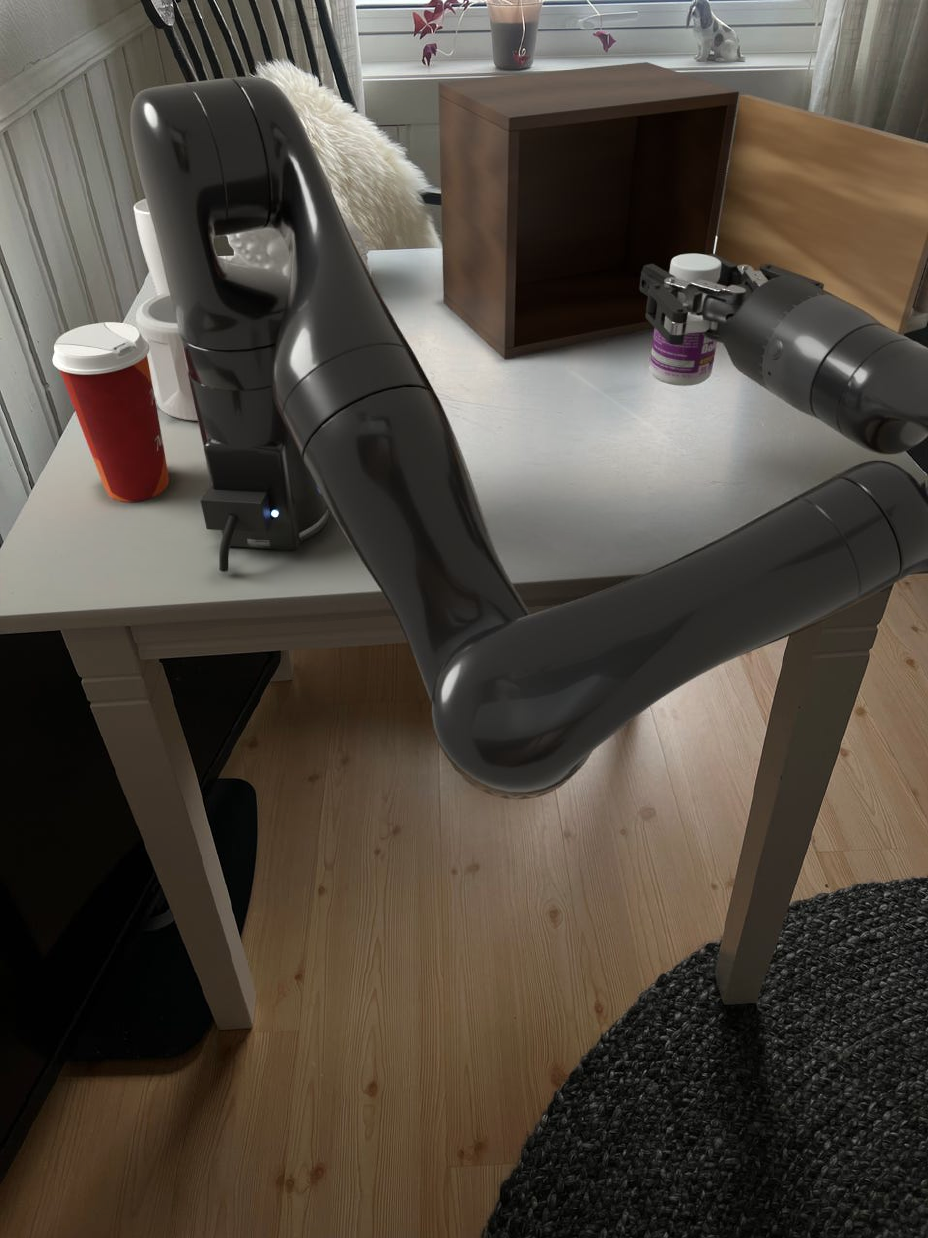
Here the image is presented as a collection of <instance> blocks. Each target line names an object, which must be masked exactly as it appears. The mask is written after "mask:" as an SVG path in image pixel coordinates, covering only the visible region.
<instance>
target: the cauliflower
mask: <svg viewBox="0 0 928 1238" xmlns="http://www.w3.org/2000/svg"><path fill="white" fill-rule="evenodd" d="M325 177H326V179H327V181H328V184H329V186H330V189H331V191H332V192H333V187H332V183H331V181H330V180H329V177H328V176H327V175H326V174H325ZM340 213H341V215H342V217H343V220H344V222H345V224H346V227H347V229H348V231H349V233H350V236H351V238H352V240H353V242H354V244H355V246H356V248H357V250H358V252H359V254H360V256H361V258H362V260H363V262H364V264H365V266H366V268H367V270H368V272H369V274H370V275H371V276H372V271H371V267H370V266H369V264H368V260H369V257H368V256H367V255H368V253H369V251H370V250H369V246H368V245H367V246H366V239H365V236H364V234H363V232H362V231H361V229H360V228H359V226H358V225H357V224H356V223H355V222H354V221H353V220H352V219H350V217H348V216H347V215H346V214H344V213H343V212H340ZM225 237H227V241H228V245H229V246H230V248H231V249H232V250H233V256H232V257H231V258H230V259H229V258H228V257H227V256H226V255H224V258H223V259H225V260H228V261H231V262H235V263H239V264H244V265H250V266H256V267H262V268H266V269H270V270H273V271H277V272H279V273H281V274H283V275H285V276H287V277H289V278H290V270H291V259H290V255H289V252H288V249H287V247H286V244H285V242H284V241H283V239H282V237H281V236H280V235H279V234H278V233H277V232H276V231H275V230H274V229H272V228H263V229H258V230H253V231H247V232H242V233H237V234H231V235H226V236H225Z"/></svg>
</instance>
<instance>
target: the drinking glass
mask: <svg viewBox="0 0 928 1238" xmlns="http://www.w3.org/2000/svg"><path fill="white" fill-rule="evenodd" d="M133 213H134V219H135V224H136V229H137V234H138V239H139V242H140V246H141V250H142V253H143V255H144V256H143V257H144V260H145V263H146V265H147V269H148V273H149V276H150V278H151V281H152V285H153V288H154V292H155V294H156V295H155V296H157V295H160V294H163V293H166V292H169V288H168V283H167V279H166V275H165V270H164V266H163V262H162V257H161V253H160V249H159V245H158V241H157V237H156V234H155V230H154V226H153V222H152V219H151V215H150V211H149V208H148V204H147V201H146V198H144V199H141V200H138V201H137V202H135V204H134V205H133Z"/></svg>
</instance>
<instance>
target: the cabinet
mask: <svg viewBox="0 0 928 1238" xmlns="http://www.w3.org/2000/svg"><path fill="white" fill-rule="evenodd" d="M437 84H438V86H437V87H438V89H437V90H438V123H439V124H438V126H439V127H438V128H439V129H438V130H439V166H440V167H439V169H440V206H441V208H440V210H441V248H442V249H441V251H442V253H441V254H442V291H443V292H442V293H443V295H442V296H443V304H444V305H445V306H447V308H449V309H450V310H451V311H452V313H454V314H455V315H456V316H457V317H458V318H459V319H460V320H461V321H463V322H464V323H465V324H466V325H467V326H468V328H470V329H471V330H472V331H473V332H474V333H475V334H477V335H478V337H480V338H481V340H483V341H484V342H486V343H487V344H488V345H489V346H490V348H492V350H494V351H495V352H496V353H497V354H498V355H499V356H500V357H502V359H504V360H508V359H512V358H513V359H514V358H518V357H522V356H527V355H532V354H537V353H543V352H545V351H549V350H555V349H559V348H560V349H561V348H566V347H571V346H575V345H580V344H585V343H590V342H596V341H600V340H601V341H602V340H605V339H611V338H615V337H620V336H626V335H630V334H636V333H640V332H641V333H642V332H645V331H652V330H654V326H653V325H652V324H651V323H650V322H649V321H648V320H647V318H646V317H645V316H646V308H647V300H648V296H647V295H645V294H644V293H642V292H641V291H640V289H639V287H640V278H641V272H642V269H643V266H644V265H649V264H654V265H656V266H658V267H659V268H661V269H663V270H664V271H666V272H668V273H669V272H670V265H671V260H672V259H673V258H674V257H676V256H678V255H682V254H703V255H707V254H712V253H715V247H716V241H717V234H718V228H719V222H720V216H721V210H722V203H723V197H724V191H725V185H726V178H727V172H728V166H729V160H730V153H731V147H732V141H733V135H734V128H735V122H736V116H737V110H738V103H739V97H740V91H738V90H735V89H733V88H729V87H725V86H723V85H719V84H717V83H715V82H714V83H713V82H710V81H707V80H703V79H701V78H697V77H696V76H692V75H688V74H685V73H682V72H680V71H676V70H673V69H669V68H666V67H664V66H660V65H658V64H654V63H651V62H648V61H643V62H634V63H633V62H632V63H624V64H613V65H603V66H595V67H594V66H593V67H584V68H583V67H582V68H572V69H564V70H552V71H543V72H531V73H523V74H513V75H503V76H492V77H483V78H472V79H463V80H462V79H461V80H452V81H442V82H438V83H437Z"/></svg>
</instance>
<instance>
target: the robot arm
mask: <svg viewBox="0 0 928 1238" xmlns="http://www.w3.org/2000/svg"><path fill="white" fill-rule="evenodd" d="M129 115H130V116H129V124H130V137H131V143H132V149H133V155H134V159H135V163H136V166H137V172H138V175H139V179H140V183H141V187H142V189H143V193H144V197H145V199H146V201H147V204H148V208H149V211H150V215H151V219H152V222H153V226H154V230H155V234H156V237H157V241H158V245H159V249H160V253H161V257H162V262H163V266H164V270H165V275H166V279H167V283H168V288H169V292H170V295H171V299H172V303H173V307H174V311H175V315H176V320H177V325H178V329H179V334H180V339H181V343H182V348H183V353H184V357H185V362H186V367H187V371H188V377H189V381H190V386H191V391H192V395H193V400H194V405H195V409H196V414H197V419H198V421H197V423H198V427H199V432H200V437H201V441H202V446H203V451H204V457H205V461H206V466H207V471H208V476H209V481H210V485H211V486H208V487H206V490H205V491H204V493H203V494H202V496H201V498H200V499H199V500H200V506H201V510H202V515H203V518H204V522H205V527H206V530H211V531H212V530H213V531H220V532H221V535H222V536H221V542H220V547H219V555H218V557H219V559H218V562H219V563H218V564H219V565H218V566H219V571H220V572H222V573H226V572H228V571H229V555H230V548H231V547H237V548H239V547H240V548H251V549H252V548H253V549H269V550H286V551H295V550H297V549H298V547H299V545H300V544H301V543H302V542H303V541H306V540H308V539H309V538H312V537H313V536H315V535H316V534H317V533H319V532H320V531H321V530H322V529H323V528H324V527H325V525H326V524H327V523H328V520H329V517H330V513H331V515H332V517H333V518H334V520H335V522H336V523H337V525H338V526H339V528H340V530H341V531H342V533H343V535H344V536H345V538H346V539H347V541H348V542H349V544H350V546H351V548H352V549H353V550H354V552H355V554H356V555H357V556H358V558H359V559H360V561H361V562H362V564H363V565H364V567H365V569H366V570H367V571H368V573H369V574H370V576H371V577H372V579H373V580H374V582H375V583H376V584H377V586H378V588H379V589H380V591H381V592H382V594H383V595H384V597H385V599H386V601H387V603H388V604H389V605H390V608H391V610H392V611H393V613H394V616H395V618H396V619H397V621H398V623H399V625H400V628H401V630H402V632H403V634H404V637H405V638H406V641H407V644H408V646H409V649H410V651H411V654H412V656H413V659H414V662H415V664H416V666H417V669H418V672H419V674H420V677H421V680H422V681H423V685H424V688H425V691H426V693H427V696H428V700H429V701H430V718H431V724H432V728H433V732H434V736H435V738H436V741H437V742H438V745H439V747H440V749H441V751H442V752H443V754H444V756H445V758H446V759H447V760H448V762H449V763H450V764H451V766H452V768H453V769H454V770H455V772H456V773H458V774H459V775H460V776H461V778H462V779H463V780H464V781H466V782H467V783H469V785H471V786H472V787H474V788H475V789H477V790H478V791H481V792H484V793H485V794H488V795H490V796H493V797H498V798H501V799H506V800H513V801H515V800H518V801H519V800H520V801H521V800H523V801H524V800H531V799H536V798H540V797H543V796H546V795H548V794H550V793H552V792H555V791H556V790H558V789H559V788H561V787H562V786H563V785H565V784H566V783H568V781H570V780H571V778H573V777H574V776H575V775H576V774H577V773H578V771H580V769H581V768H582V767H583V766H584V765H585V764H586V762H588V760H589V758H590V756H591V755H592V754H593V751H595V750H596V749H597V748H598V747H599V746H601V745H602V744H603V743H604V742H606V741H607V740H609V738H611V737H612V736H614V735H615V734H616V733H617V732H619V731H620V730H621V729H622V728H624V727H625V726H627V725H628V724H629V723H630V722H632V721H633V720H634V719H636V718H637V717H638V716H639V715H641V714H642V713H643V712H645V711H646V710H647V709H648V708H650V707H651V706H652V705H654V704H655V703H657V702H658V701H660V700H662V698H663V699H664V697H666V696H667V695H669V694H671V693H673V692H674V691H675V690H677V689H679V688H680V687H681V686H684V685H685V684H687V683H689V682H691V681H693V680H694V679H696V678H698V677H700V676H701V675H704V674H705V673H707V672H709V671H711V670H713V669H714V668H717V667H719V666H722V664H725V663H727V662H729V661H732V660H734V659H736V658H738V657H741V656H743V655H746V654H747V653H748V654H749V653H751V652H753V651H756V650H758V649H760V648H764V647H765V646H767V645H770V644H773V643H775V642H778V641H781V640H784V639H785V638H788V637H791V636H793V635H795V634H797V633H799V632H801V631H804V630H806V629H808V628H811V627H813V626H815V625H818V624H820V623H822V622H824V621H826V620H828V619H830V618H831V617H834V616H836V615H837V614H839V613H841V612H844V611H845V610H847V609H849V608H851V607H853V606H854V605H857V604H859V603H861V602H862V601H864V600H866V599H868V598H869V597H872V596H874V595H876V594H877V593H879V592H881V591H883V590H885V589H886V588H888V587H891V586H892V585H894V584H895V583H897V582H899V581H900V580H903V579H904V578H906V577H908V576H909V575H913V574H917V573H921V572H926V571H928V475H927V476H926V478H925V479H924V480H923V481H922V482H920V483H919V481H918V480H916V478H915V477H914V476H913V475H912V474H911V473H910V472H908V471H907V470H905V469H904V468H902V467H901V466H899V465H897V464H896V463H893V462H890V461H885V460H869V461H864V462H861V463H858V464H856V465H854V466H851V467H848V468H846V469H844V470H842V471H840V472H838V473H836V474H835V475H832V476H831V477H829V478H827V479H824V480H823V481H821V482H819V483H817V484H815V485H813V486H811V487H809V488H807V489H805V490H804V491H803V490H802V492H800V493H798V494H796V495H794V496H792V497H790V498H788V499H787V500H785V501H783V502H781V503H779V504H777V505H775V506H773V507H771V508H769V509H767V510H766V511H764V512H762V513H759V514H758V515H757V516H755V517H753V518H750V519H749V520H747V521H746V522H743V523H741V524H740V525H739V526H736V527H734V528H732V529H731V530H729V531H726V532H725V533H724V534H721V535H720V536H718V537H716V538H714V539H712V540H711V541H708V542H706V543H705V544H703V545H701V546H699V547H697V548H695V549H693V550H692V551H690V552H687V553H686V554H684V555H682V556H679V557H678V558H676V559H673V560H671V561H669V562H667V563H665V564H663V565H661V566H658V567H656V568H654V569H651V570H649V571H647V572H645V573H643V574H640V575H638V576H635V577H633V578H629V579H628V580H626V581H622V582H621V583H618V584H615V585H613V586H610V587H608V588H606V589H603V590H600V591H598V592H597V591H596V592H595V593H592V594H589V595H586V596H584V597H580V598H578V599H574V600H572V601H568V602H565V603H562V604H559V605H556V606H553V607H550V608H547V609H543V610H541V611H538V612H534V613H531V612H530V610H529V609H528V607H527V605H526V603H525V602H524V600H523V599H522V597H521V596H520V594H519V593H518V591H517V589H516V588H515V585H514V584H513V582H512V580H511V579H510V577H509V575H508V573H507V572H506V570H505V568H504V566H503V564H502V562H501V560H500V558H499V557H500V556H499V555H498V553H497V551H496V549H495V548H496V547H495V545H494V543H493V540H492V538H491V535H490V533H489V529H488V526H487V523H486V520H485V517H484V514H483V511H482V507H481V505H480V502H479V498H478V495H477V492H476V488H475V486H474V483H473V480H472V477H471V474H470V471H469V467H468V465H467V462H466V460H465V458H464V455H463V452H462V450H461V447H460V444H459V442H458V439H457V437H456V434H455V431H454V430H453V427H452V425H451V423H450V420H449V418H448V416H447V414H446V411H445V409H444V407H443V405H442V402H441V400H440V399H439V397H438V395H437V393H436V391H435V389H434V387H433V386H432V384H431V382H430V380H429V378H428V377H427V374H426V373H425V371H424V369H423V367H422V365H421V364H420V362H419V360H418V358H417V355H416V354H415V352H414V350H413V349H412V347H411V345H410V344H409V342H408V341H407V339H406V337H405V336H404V334H403V332H402V331H401V328H400V327H399V326H398V324H397V322H396V320H395V319H394V317H393V314H392V313H391V310H389V307H388V306H387V304H386V302H385V300H384V298H383V296H382V295H381V292H380V291H379V289H378V287H377V285H376V283H375V281H374V279H373V277H372V274H371V275H370V274H369V272H368V270H367V268H366V266H365V264H364V262H363V260H362V258H361V256H360V254H359V252H358V250H357V248H356V246H355V244H354V242H353V240H352V238H351V236H350V233H349V231H348V229H347V227H346V224H345V222H344V220H343V217H342V215H341V213H342V212H341V210H340V207H339V205H338V203H337V201H336V198H335V196H334V193H333V190H332V191H331V189H330V186H329V184H328V181H327V179H326V177H325V175H326V174H325V172H324V169H323V168H322V164H321V162H320V160H319V158H318V156H317V153H316V151H315V148H314V146H313V143H312V142H311V139H310V137H309V135H308V132H307V131H306V129H305V126H304V124H303V122H302V120H301V118H300V115H299V114H298V113H297V110H296V108H295V107H294V105H293V104H292V102H291V101H290V99H289V98H288V96H287V95H286V93H285V92H284V91H283V90H282V89H281V88H280V87H279V86H278V85H277V84H276V83H274V82H273V81H272V80H269V79H266V78H264V77H259V76H234V77H233V76H232V77H225V78H216V79H207V80H199V81H191V82H183V83H174V84H166V85H159V86H153V87H148V88H145V89H142V90H141V91H139V92H138V93H137V94H136V95H135V97H134V98H133V101H132V104H131V108H130V114H129ZM263 228H272V229H274V230H275V231H276V232H277V233H278V234H279V235H280V236H281V237H282V239H283V241H284V242H285V244H286V247H287V249H288V252H289V255H290V259H291V270H290V278H289V277H287V276H285V275H283V274H281V273H279V272H277V271H273V270H270V269H266V268H262V267H256V266H250V265H244V264H239V263H235V262H231V261H228V260H225V259H224V258H223V257H222V256H221V257H220V256H219V255H218V254H217V251H216V248H215V244H214V240H215V238H220V237H227V236H226V235H231V234H237V233H242V232H247V231H253V230H258V229H263ZM707 255H708V256H712V257H715V258H717V259H718V260H720V262H721V272H720V278H719V280H718V282H717V283H714V282H710V281H707V280H703V279H698V280H696V281H694V282H692V283H691V282H687V281H684V280H681V279H677V278H676V277H674V276H673V275H671V274H669V273H668V272H666V271H664V270H663V269H661V268H659V267H658V266H656V265H654V264H649V265H644V266H643V269H642V272H641V278H640V287H639V289H640V291H641V292H642V293H644V294H645V295H647V296H648V300H647V308H646V316H645V317H646V318H647V320H648V321H649V322H650V323H651V324H652V325H653V326H654V327H655V329H656V330H657V331H658V332H659V333H660V334H661V335H662V336H663V338H664V339H665V340H666V341H667V342H668V343H669V344H672V345H681V344H683V343H684V337H685V334H689V333H700V332H702V334H703V335H704V336H705V337H706V338H708V339H711V340H715V341H717V343H718V342H719V343H721V344H723V346H724V348H725V350H726V352H727V354H728V357H729V359H730V361H731V363H732V365H733V366H734V368H735V369H736V370H737V371H739V372H740V373H741V374H742V375H744V376H746V377H748V378H749V379H751V381H753V382H755V383H756V384H758V385H759V386H761V387H762V388H764V389H766V390H767V391H768V392H770V393H771V394H773V395H775V396H776V397H778V398H779V399H781V400H782V401H784V402H785V403H786V404H788V405H789V406H791V407H793V408H795V409H796V410H798V411H799V412H801V413H803V414H806V415H809V416H811V417H813V418H815V419H817V420H819V421H821V422H822V423H824V424H825V425H826V426H828V427H830V428H831V429H832V430H834V431H835V432H838V433H839V434H840V435H842V436H844V438H847V439H848V440H850V441H851V442H852V443H855V444H856V445H858V446H859V447H861V448H863V449H864V450H867V451H869V452H872V453H875V454H878V455H883V456H885V455H887V456H888V455H889V456H891V455H893V456H894V455H899V454H902V453H905V452H907V451H909V450H911V449H913V448H915V447H916V446H918V445H919V444H920V443H922V442H923V441H924V440H925V439H927V437H928V347H927V346H925V345H923V344H921V343H920V342H918V341H915V340H913V339H911V338H909V337H907V336H906V335H904V336H903V335H901V334H899V333H898V332H896V331H894V330H892V329H890V328H888V327H886V326H885V325H883V324H882V323H880V322H879V321H878V320H876V319H875V318H874V317H873V316H871V315H870V314H869V313H867V312H865V311H864V310H862V309H860V308H858V307H857V306H855V305H853V304H851V303H849V302H847V301H845V300H843V299H841V298H839V297H837V296H835V295H833V294H831V293H829V292H827V291H825V290H823V288H824V284H823V283H821V282H819V281H816V280H813V279H810V278H807V277H805V276H802V275H799V274H796V273H794V272H791V271H788V270H785V269H782V268H780V267H777V266H774V265H771V264H762V265H760V269H759V271H755V270H754V269H753V268H752V267H751V266H749V265H746V264H743V265H738V266H736V265H735V264H733V263H731V262H729V261H727V260H725V259H723V258H721V257H720V256H718V255H716V254H715V252H713V253H712V254H707ZM773 278H774V279H773ZM678 292H681V293H684V294H685V296H686V300H685V303H683V304H682V303H681V302H680V301H679V300H678ZM703 293H704V294H707V295H706V297H705V299H704V303H703V309H702V316H701V314H700V309H701V302H702V296H703Z"/></svg>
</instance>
